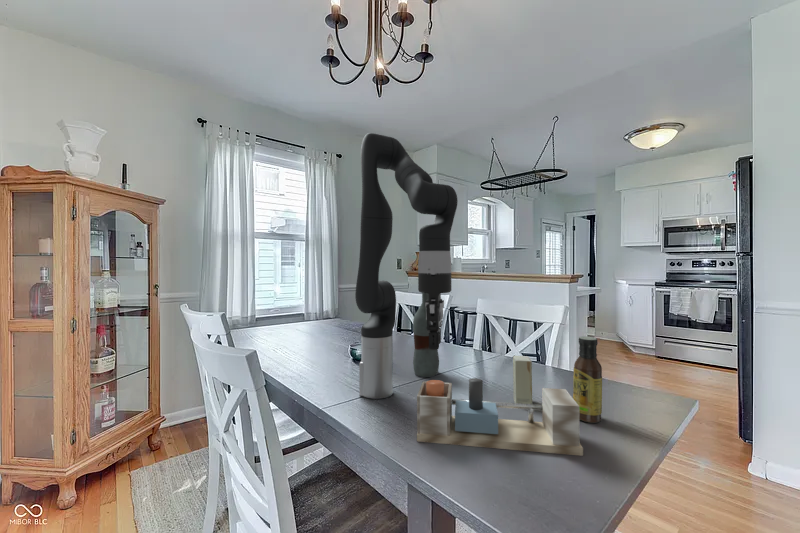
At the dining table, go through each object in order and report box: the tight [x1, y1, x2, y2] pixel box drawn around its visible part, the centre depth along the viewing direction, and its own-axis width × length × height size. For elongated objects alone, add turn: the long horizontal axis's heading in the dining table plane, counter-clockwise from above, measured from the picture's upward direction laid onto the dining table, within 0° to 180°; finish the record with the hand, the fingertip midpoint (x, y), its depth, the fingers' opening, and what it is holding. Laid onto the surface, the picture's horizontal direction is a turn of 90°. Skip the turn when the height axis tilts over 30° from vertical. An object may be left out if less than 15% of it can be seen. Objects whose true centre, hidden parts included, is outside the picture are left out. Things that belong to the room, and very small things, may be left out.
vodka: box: [412, 293, 440, 378], centre depth 124 cm, size 9×9×30 cm
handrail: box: [452, 398, 543, 423], centre depth 83 cm, size 20×1×4 cm, turn 79°
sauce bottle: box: [572, 335, 603, 424], centre depth 87 cm, size 6×6×20 cm
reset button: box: [425, 379, 445, 397], centre depth 81 cm, size 4×4×4 cm
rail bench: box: [416, 381, 584, 457], centre depth 79 cm, size 33×11×10 cm, turn 79°
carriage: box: [454, 377, 499, 434], centre depth 79 cm, size 9×7×10 cm
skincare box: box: [512, 355, 533, 404], centre depth 97 cm, size 6×4×12 cm
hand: (435, 345), depth 81 cm, fingers open, 5 cm apart
